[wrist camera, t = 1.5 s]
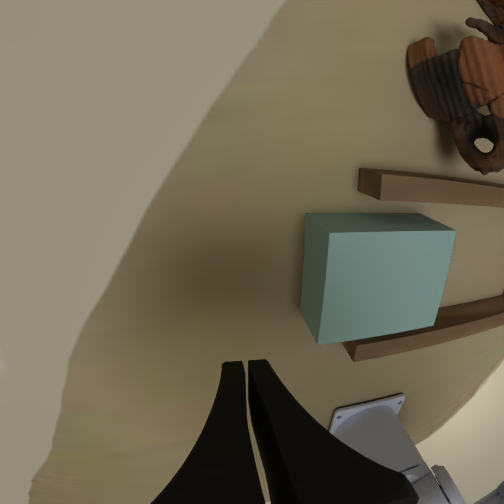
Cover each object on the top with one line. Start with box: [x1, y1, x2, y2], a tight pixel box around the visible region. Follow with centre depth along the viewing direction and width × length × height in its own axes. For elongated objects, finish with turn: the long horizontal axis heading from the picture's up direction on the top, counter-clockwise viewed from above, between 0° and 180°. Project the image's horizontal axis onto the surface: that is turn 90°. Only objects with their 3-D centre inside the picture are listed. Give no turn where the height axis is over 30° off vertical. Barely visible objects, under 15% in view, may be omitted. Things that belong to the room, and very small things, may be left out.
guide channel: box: [342, 168, 504, 362], centre depth 21 cm, size 13×22×3 cm, turn 90°
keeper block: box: [300, 213, 456, 345], centre depth 20 cm, size 7×9×4 cm
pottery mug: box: [408, 17, 504, 175], centre depth 16 cm, size 12×10×8 cm
